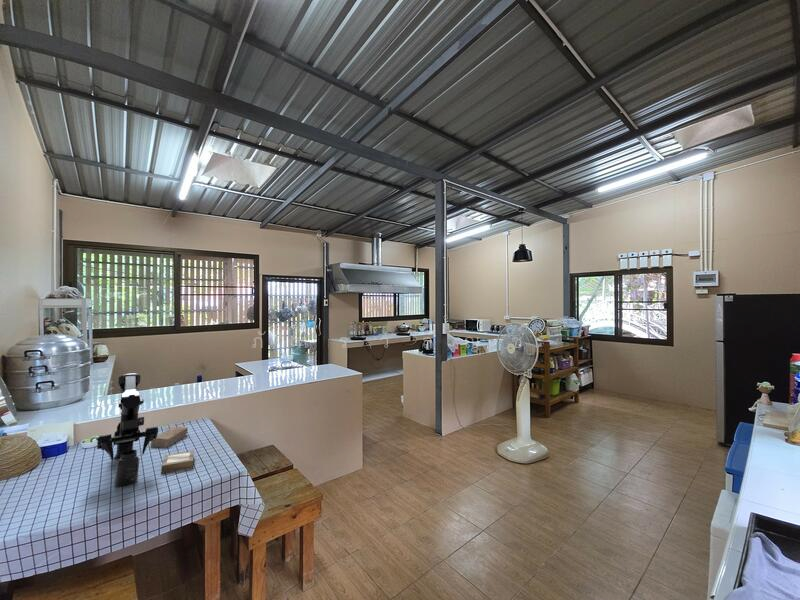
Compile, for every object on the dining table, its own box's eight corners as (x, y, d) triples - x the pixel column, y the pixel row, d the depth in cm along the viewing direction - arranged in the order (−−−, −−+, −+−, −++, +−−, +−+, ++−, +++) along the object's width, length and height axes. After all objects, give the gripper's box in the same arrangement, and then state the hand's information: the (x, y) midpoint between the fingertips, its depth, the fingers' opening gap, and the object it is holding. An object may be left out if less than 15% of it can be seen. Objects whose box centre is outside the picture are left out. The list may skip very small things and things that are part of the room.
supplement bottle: (110, 485, 121) (113, 453, 121) (130, 477, 127) (133, 447, 128) (121, 489, 118) (124, 457, 119) (141, 481, 125) (144, 450, 125)
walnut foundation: (164, 462, 140) (164, 455, 141) (193, 457, 146) (194, 450, 146) (161, 473, 131) (161, 465, 131) (192, 467, 137) (193, 460, 137)
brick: (166, 447, 156) (167, 438, 156) (149, 447, 155) (150, 437, 156) (187, 435, 172) (188, 426, 172) (172, 435, 172) (172, 426, 172)
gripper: (99, 415, 123) (96, 453, 114) (159, 407, 136) (160, 441, 127) (98, 430, 128) (95, 467, 120) (156, 421, 141) (156, 454, 132)
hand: (128, 457), depth 124 cm, fingers open, 9 cm apart
